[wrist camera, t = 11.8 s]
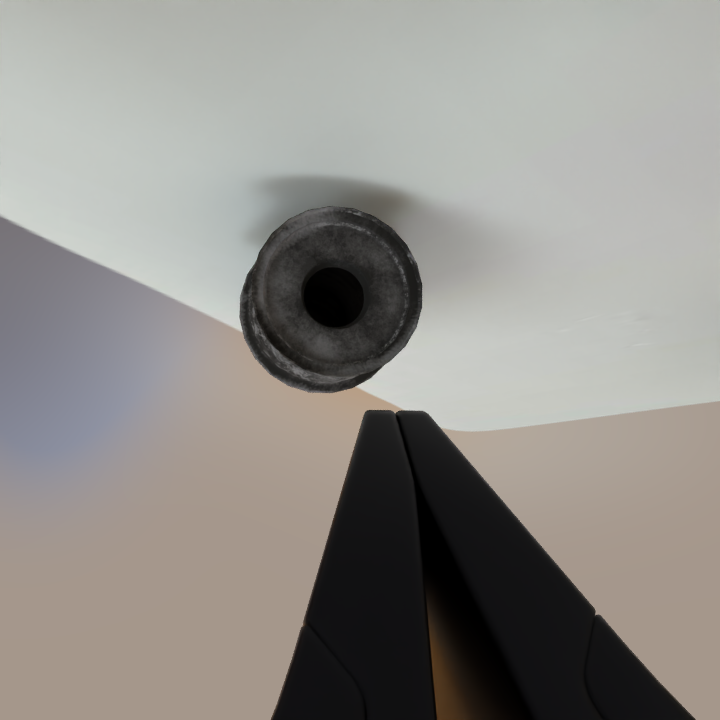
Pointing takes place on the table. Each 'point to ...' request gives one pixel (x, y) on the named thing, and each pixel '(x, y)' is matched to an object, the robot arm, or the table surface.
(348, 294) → the grey turned piece
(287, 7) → the table surface
